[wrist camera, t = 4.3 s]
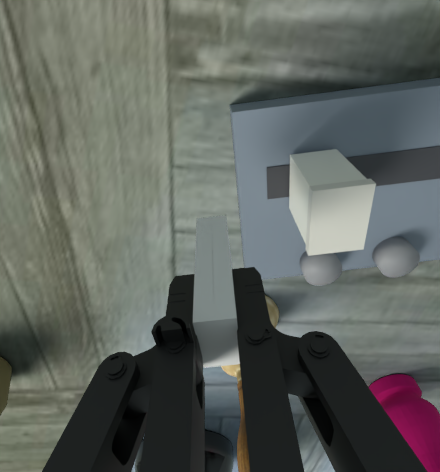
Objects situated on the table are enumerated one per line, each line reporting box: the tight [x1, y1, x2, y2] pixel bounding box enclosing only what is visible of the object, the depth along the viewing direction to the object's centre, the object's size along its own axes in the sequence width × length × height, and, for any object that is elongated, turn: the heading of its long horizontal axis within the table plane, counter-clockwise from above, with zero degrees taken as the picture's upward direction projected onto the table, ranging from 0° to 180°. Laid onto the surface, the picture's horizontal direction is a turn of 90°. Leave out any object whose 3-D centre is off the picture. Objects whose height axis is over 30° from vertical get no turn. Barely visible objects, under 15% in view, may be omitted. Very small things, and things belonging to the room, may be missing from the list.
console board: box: [230, 78, 440, 286], centre depth 23 cm, size 24×14×4 cm, turn 96°
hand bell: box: [221, 295, 279, 472], centre depth 26 cm, size 8×8×16 cm
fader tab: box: [289, 149, 376, 256], centre depth 19 cm, size 3×4×5 cm
